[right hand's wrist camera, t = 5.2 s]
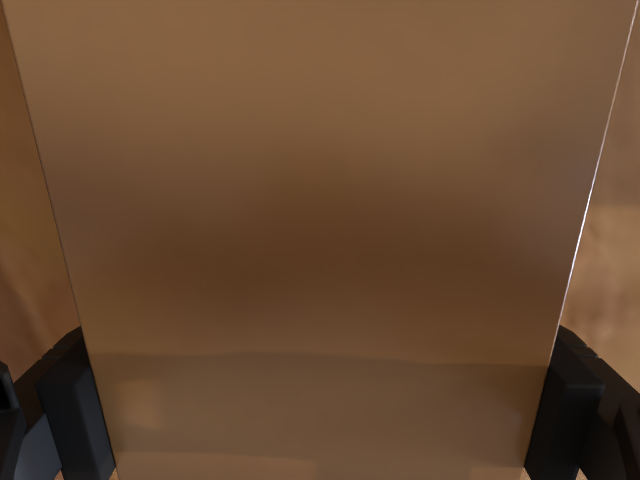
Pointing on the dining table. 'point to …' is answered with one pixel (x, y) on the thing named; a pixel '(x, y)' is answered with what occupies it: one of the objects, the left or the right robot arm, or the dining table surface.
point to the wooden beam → (319, 221)
